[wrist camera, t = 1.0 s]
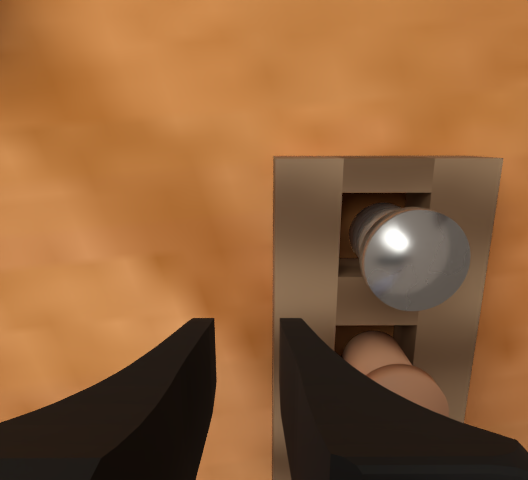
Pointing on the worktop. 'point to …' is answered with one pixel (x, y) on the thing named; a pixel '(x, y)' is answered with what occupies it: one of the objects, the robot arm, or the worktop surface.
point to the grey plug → (409, 254)
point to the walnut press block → (348, 269)
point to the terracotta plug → (394, 370)
